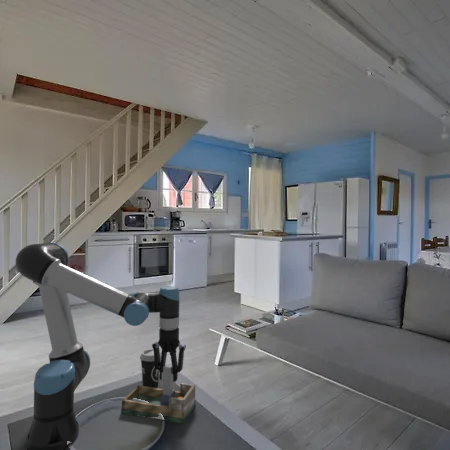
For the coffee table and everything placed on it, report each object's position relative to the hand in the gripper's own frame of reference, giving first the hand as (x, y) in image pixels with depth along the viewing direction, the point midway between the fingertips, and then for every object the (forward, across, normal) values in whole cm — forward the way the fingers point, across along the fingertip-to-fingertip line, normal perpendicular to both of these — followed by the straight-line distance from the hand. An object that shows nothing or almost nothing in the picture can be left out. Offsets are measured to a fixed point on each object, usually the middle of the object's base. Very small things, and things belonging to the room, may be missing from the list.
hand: (168, 388), depth 122 cm
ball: (+5, -5, 0) cm, 7 cm away
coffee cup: (+8, +15, -15) cm, 23 cm away
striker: (+6, 0, 0) cm, 6 cm away
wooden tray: (+8, +4, 0) cm, 9 cm away
